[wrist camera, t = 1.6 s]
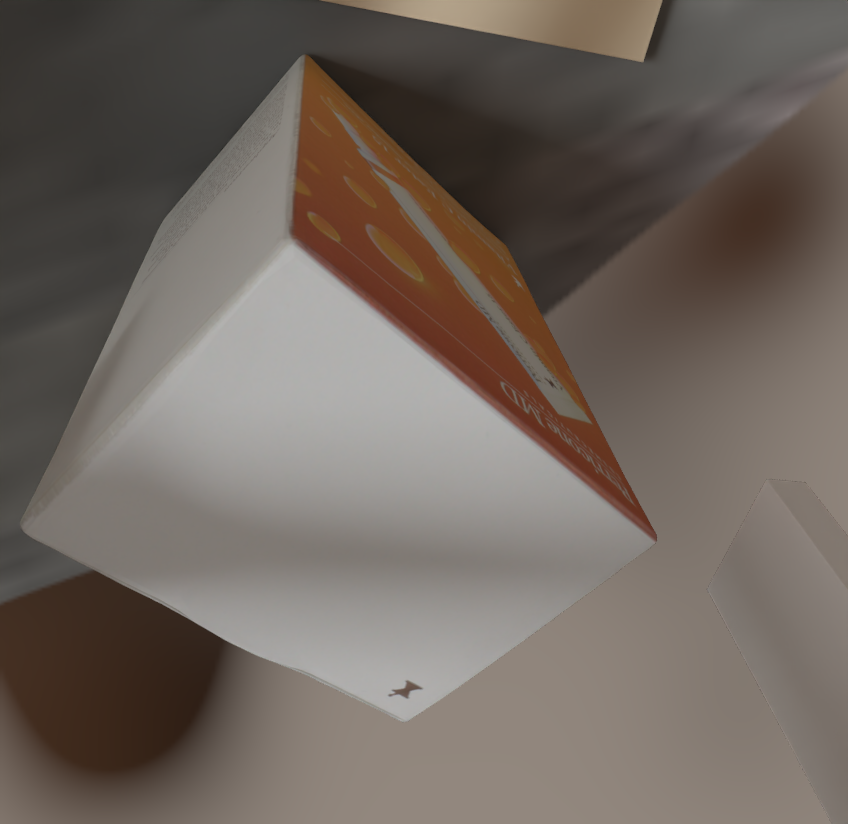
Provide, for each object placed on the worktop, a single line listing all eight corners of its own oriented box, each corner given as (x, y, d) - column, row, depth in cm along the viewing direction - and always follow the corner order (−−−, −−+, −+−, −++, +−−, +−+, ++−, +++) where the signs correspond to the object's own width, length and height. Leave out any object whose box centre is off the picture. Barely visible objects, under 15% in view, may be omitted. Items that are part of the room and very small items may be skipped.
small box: (510, 244, 23) (673, 548, 13) (368, 379, 26) (405, 736, 15) (302, 40, 20) (288, 231, 9) (155, 218, 22) (3, 543, 11)
